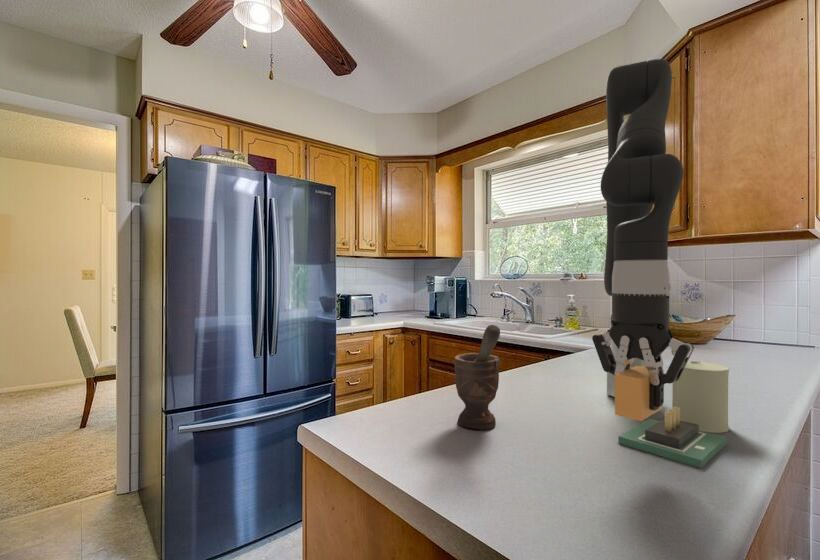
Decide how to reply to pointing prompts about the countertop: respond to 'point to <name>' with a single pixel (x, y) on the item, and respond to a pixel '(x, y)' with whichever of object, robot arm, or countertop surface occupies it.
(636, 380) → the block
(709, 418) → the can
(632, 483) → the countertop surface
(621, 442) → the header board
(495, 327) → the mortar and pestle
